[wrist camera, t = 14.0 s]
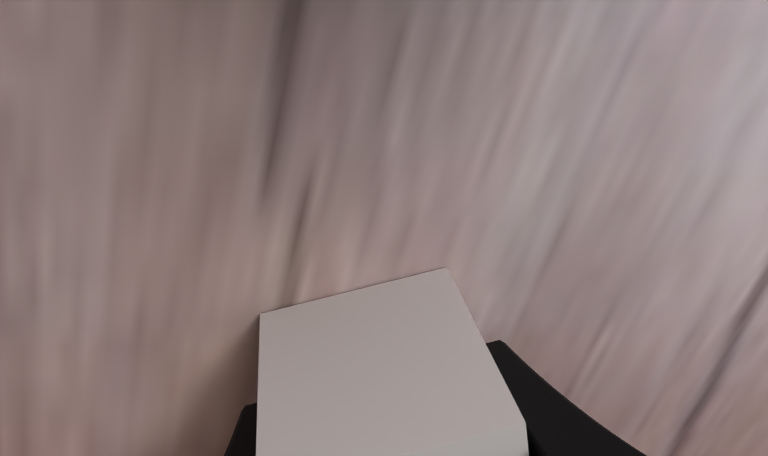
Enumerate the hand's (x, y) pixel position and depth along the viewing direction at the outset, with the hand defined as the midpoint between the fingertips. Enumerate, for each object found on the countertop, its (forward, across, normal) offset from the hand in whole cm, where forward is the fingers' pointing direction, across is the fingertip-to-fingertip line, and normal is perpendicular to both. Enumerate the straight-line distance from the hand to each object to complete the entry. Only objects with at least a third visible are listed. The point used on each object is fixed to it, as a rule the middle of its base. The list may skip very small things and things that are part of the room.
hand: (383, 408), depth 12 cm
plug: (+1, 0, +6) cm, 6 cm away
